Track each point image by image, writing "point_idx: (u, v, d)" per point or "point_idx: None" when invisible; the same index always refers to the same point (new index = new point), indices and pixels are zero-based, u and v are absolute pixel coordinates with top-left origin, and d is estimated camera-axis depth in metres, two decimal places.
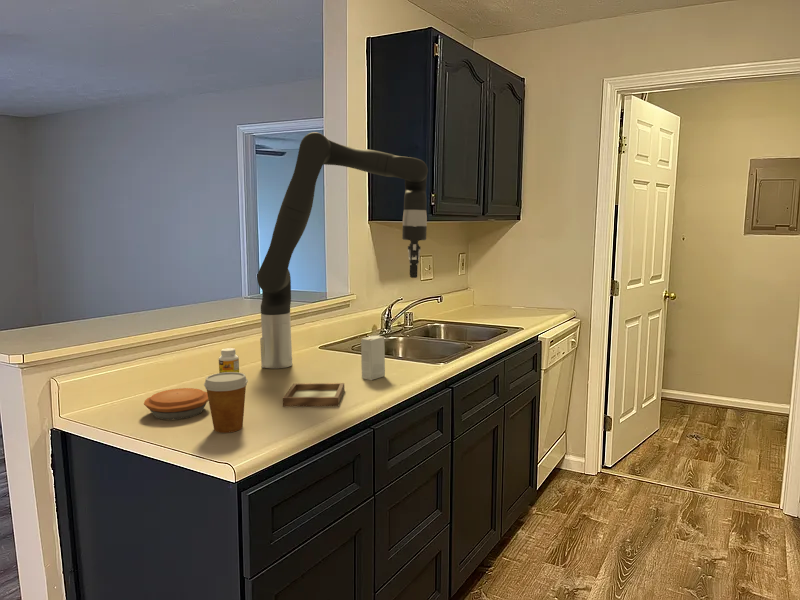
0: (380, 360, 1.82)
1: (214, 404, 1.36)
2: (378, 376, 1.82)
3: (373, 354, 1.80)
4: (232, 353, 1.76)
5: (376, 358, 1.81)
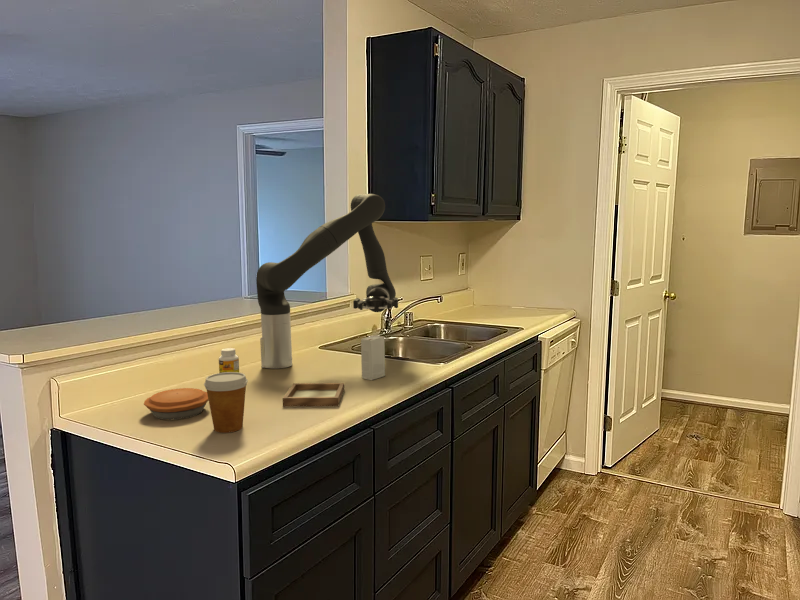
0: (380, 360, 1.82)
1: (214, 404, 1.36)
2: (378, 376, 1.82)
3: (373, 354, 1.80)
4: (232, 353, 1.76)
5: (376, 358, 1.81)
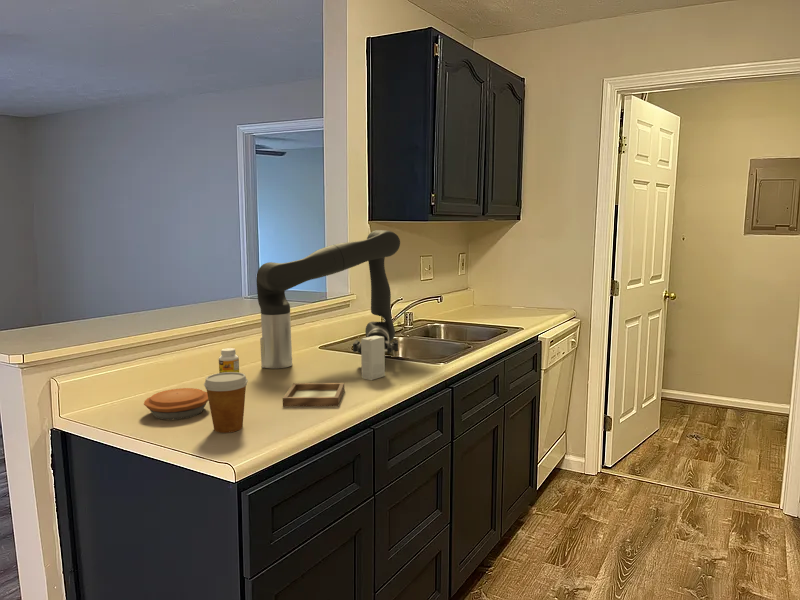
0: (380, 360, 1.82)
1: (214, 404, 1.36)
2: (378, 376, 1.82)
3: (373, 354, 1.80)
4: (232, 353, 1.76)
5: (376, 358, 1.81)
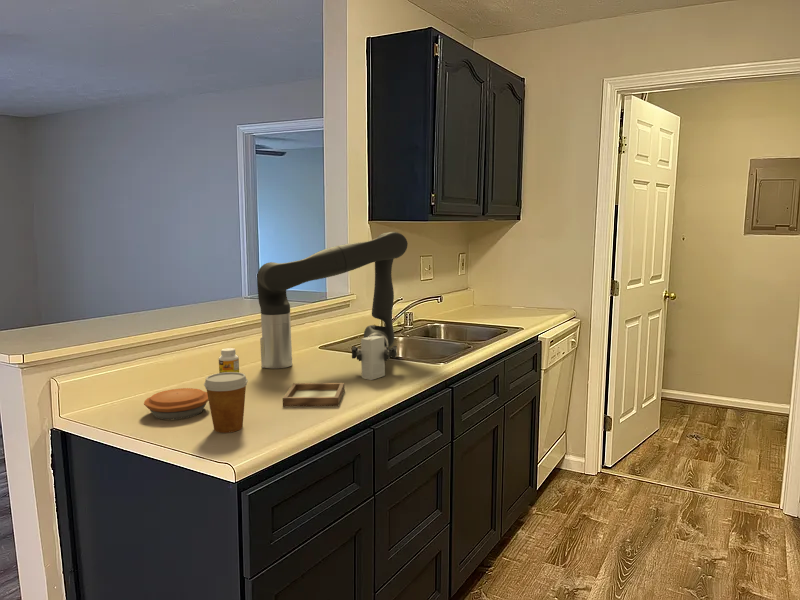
0: (380, 360, 1.82)
1: (214, 404, 1.36)
2: (378, 376, 1.82)
3: (373, 354, 1.80)
4: (232, 353, 1.76)
5: (376, 358, 1.81)
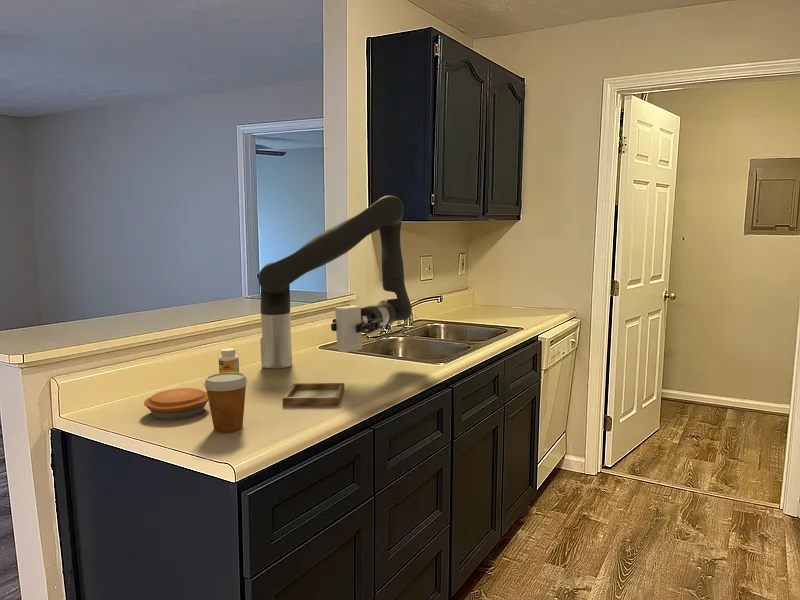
0: (354, 332, 1.68)
1: (214, 404, 1.36)
2: (352, 349, 1.68)
3: (344, 324, 1.66)
4: (232, 353, 1.76)
5: (349, 329, 1.67)
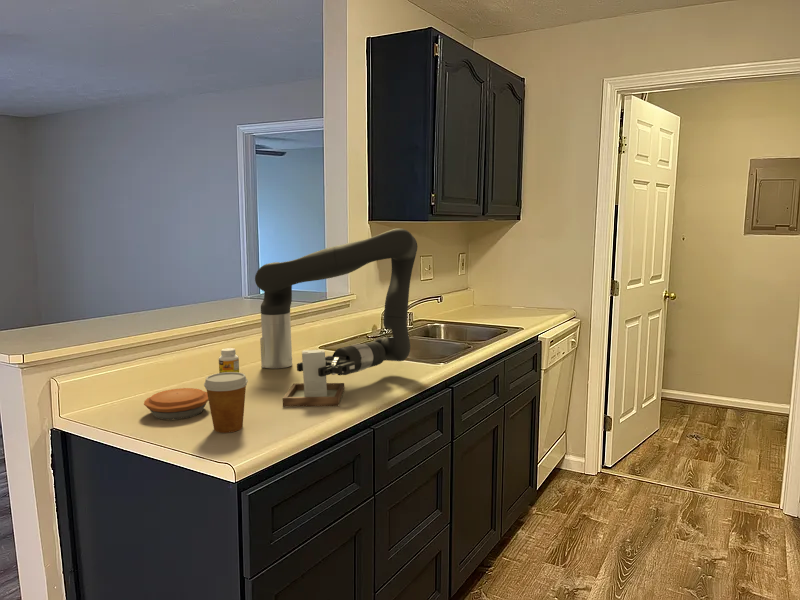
0: (318, 378, 1.60)
1: (214, 404, 1.36)
2: (315, 395, 1.61)
3: (306, 369, 1.60)
4: (232, 353, 1.76)
5: (312, 374, 1.60)
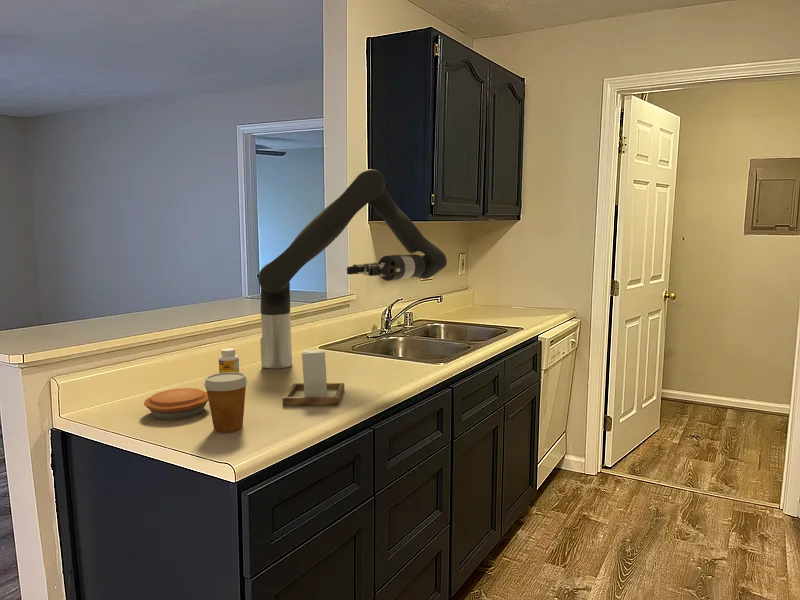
0: (318, 378, 1.60)
1: (214, 404, 1.36)
2: (315, 395, 1.61)
3: (306, 369, 1.60)
4: (232, 353, 1.76)
5: (312, 374, 1.60)
